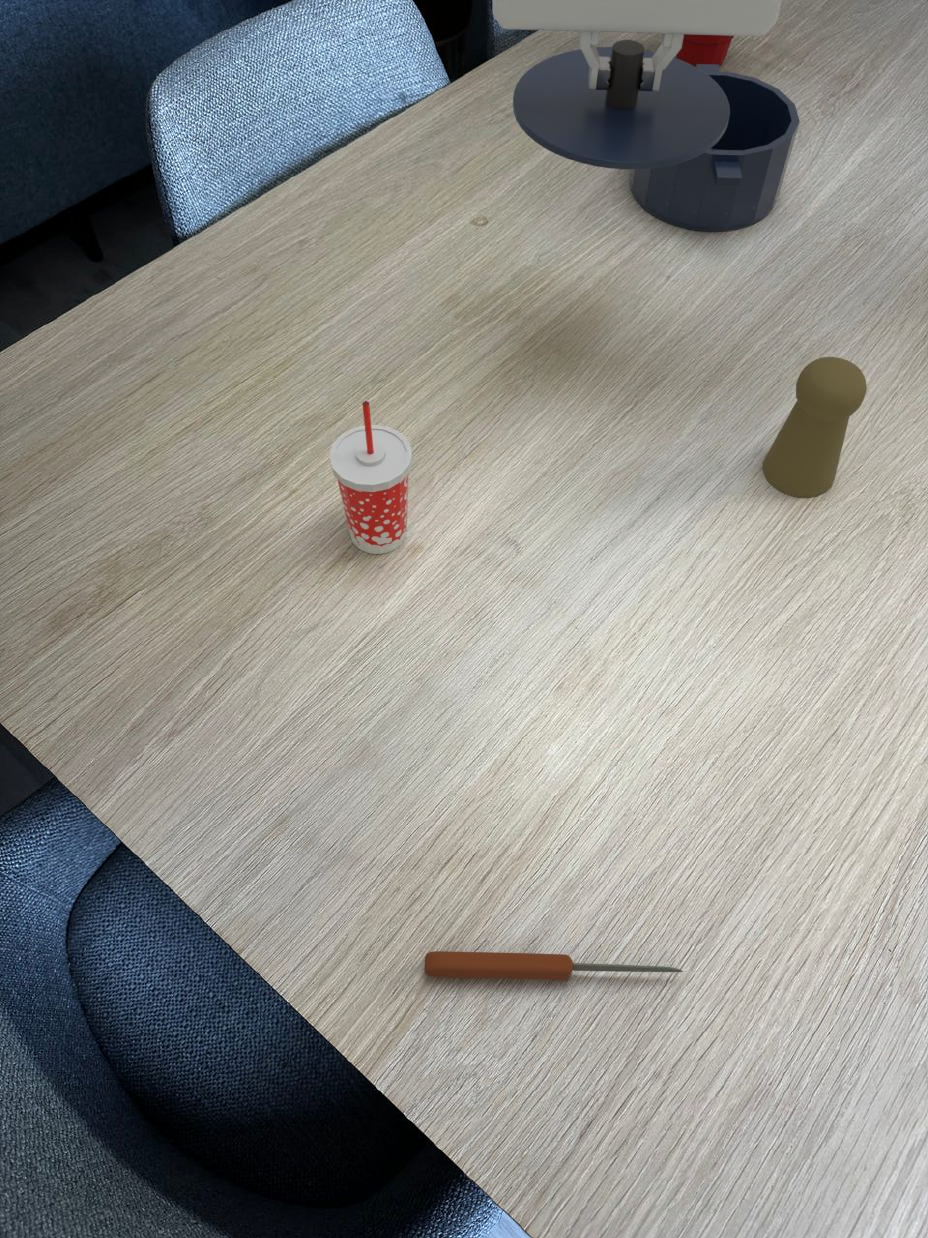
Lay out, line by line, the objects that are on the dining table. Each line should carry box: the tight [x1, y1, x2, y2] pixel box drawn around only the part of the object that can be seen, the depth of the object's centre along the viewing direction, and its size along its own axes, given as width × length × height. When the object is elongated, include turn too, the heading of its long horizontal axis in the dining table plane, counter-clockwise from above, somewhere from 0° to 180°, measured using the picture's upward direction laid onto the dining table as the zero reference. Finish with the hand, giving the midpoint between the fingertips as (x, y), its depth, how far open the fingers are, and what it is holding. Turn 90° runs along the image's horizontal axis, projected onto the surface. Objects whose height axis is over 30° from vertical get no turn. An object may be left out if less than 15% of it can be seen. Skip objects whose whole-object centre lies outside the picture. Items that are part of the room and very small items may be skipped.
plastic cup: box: [675, 34, 735, 67], centre depth 122 cm, size 11×11×12 cm
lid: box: [512, 39, 730, 170], centre depth 78 cm, size 17×17×5 cm
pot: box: [629, 64, 801, 233], centre depth 108 cm, size 16×21×8 cm
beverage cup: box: [328, 400, 413, 555], centre depth 78 cm, size 6×6×14 cm
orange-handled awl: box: [423, 950, 684, 982], centre depth 63 cm, size 16×1×2 cm, turn 89°
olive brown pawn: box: [762, 356, 868, 499], centre depth 83 cm, size 6×6×11 cm
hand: (622, 86), depth 79 cm, fingers closed on lid, 2 cm apart
